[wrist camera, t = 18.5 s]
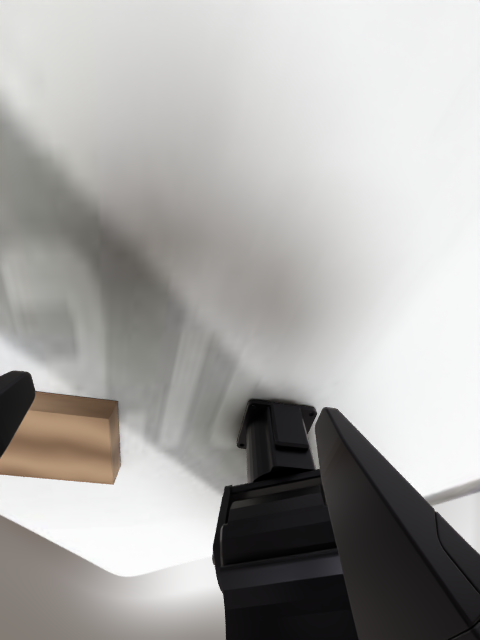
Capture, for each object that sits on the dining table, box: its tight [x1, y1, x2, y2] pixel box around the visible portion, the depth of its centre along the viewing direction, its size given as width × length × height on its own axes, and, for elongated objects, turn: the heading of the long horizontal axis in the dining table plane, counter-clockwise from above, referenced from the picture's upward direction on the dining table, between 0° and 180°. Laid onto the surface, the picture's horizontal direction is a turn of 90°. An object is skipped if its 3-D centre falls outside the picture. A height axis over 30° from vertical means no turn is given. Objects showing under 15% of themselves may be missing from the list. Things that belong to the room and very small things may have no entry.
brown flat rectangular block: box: [0, 392, 121, 485], centre depth 26 cm, size 10×20×2 cm, turn 79°
